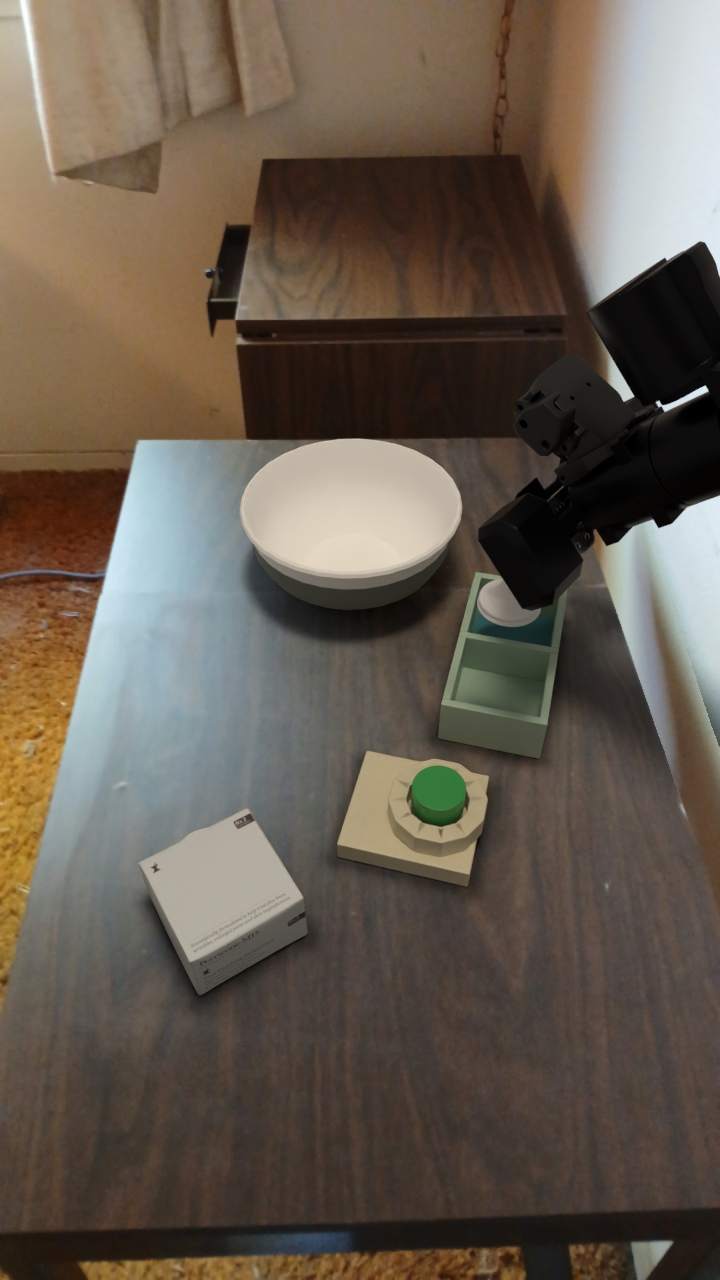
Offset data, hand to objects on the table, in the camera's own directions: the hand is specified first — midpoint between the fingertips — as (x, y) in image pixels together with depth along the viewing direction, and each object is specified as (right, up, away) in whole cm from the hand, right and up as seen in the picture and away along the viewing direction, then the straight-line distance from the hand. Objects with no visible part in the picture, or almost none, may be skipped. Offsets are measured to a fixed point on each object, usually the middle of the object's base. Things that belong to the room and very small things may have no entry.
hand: (503, 531), depth 65 cm
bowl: (-11, -2, +15) cm, 19 cm away
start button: (-5, -19, -5) cm, 20 cm away
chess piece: (+1, -5, +4) cm, 7 cm away
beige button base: (-7, -21, -3) cm, 22 cm away
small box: (-19, -26, -7) cm, 33 cm away
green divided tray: (+1, -11, +7) cm, 13 cm away
